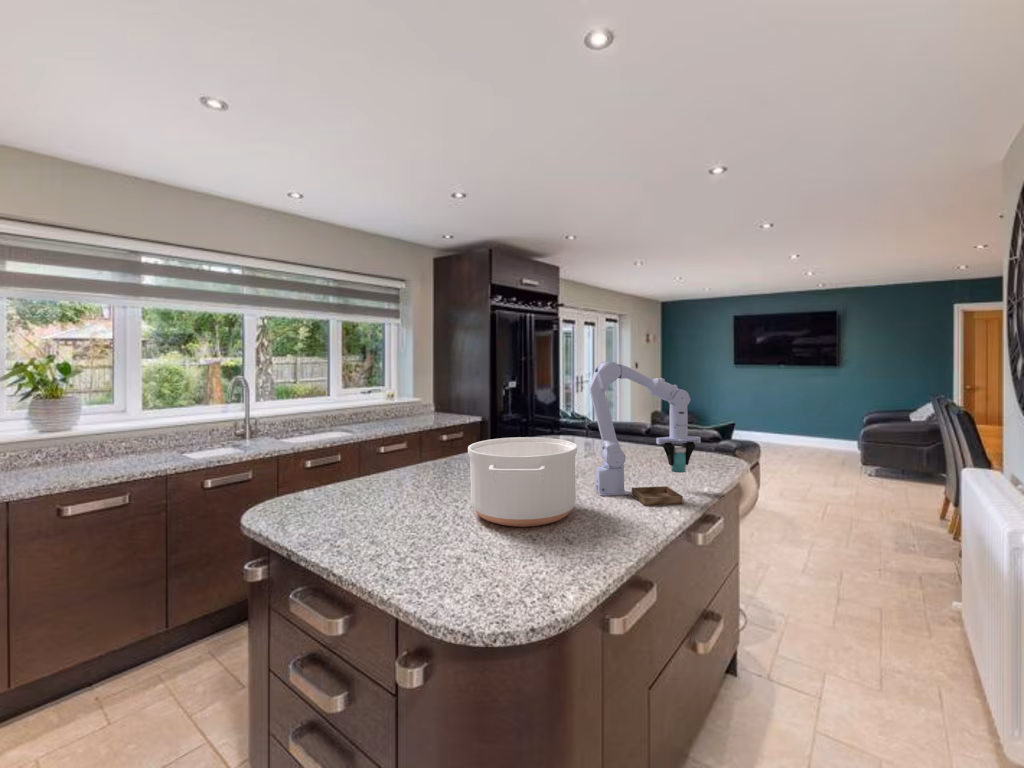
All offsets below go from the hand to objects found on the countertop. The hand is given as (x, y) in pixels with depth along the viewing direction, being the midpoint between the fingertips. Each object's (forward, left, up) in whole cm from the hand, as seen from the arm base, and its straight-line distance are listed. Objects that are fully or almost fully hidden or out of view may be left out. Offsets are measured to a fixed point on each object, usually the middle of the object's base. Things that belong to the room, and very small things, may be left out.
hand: (678, 464), depth 164 cm
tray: (-11, -8, -9) cm, 16 cm away
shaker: (0, 0, -2) cm, 2 cm away
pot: (-54, -17, -9) cm, 58 cm away
